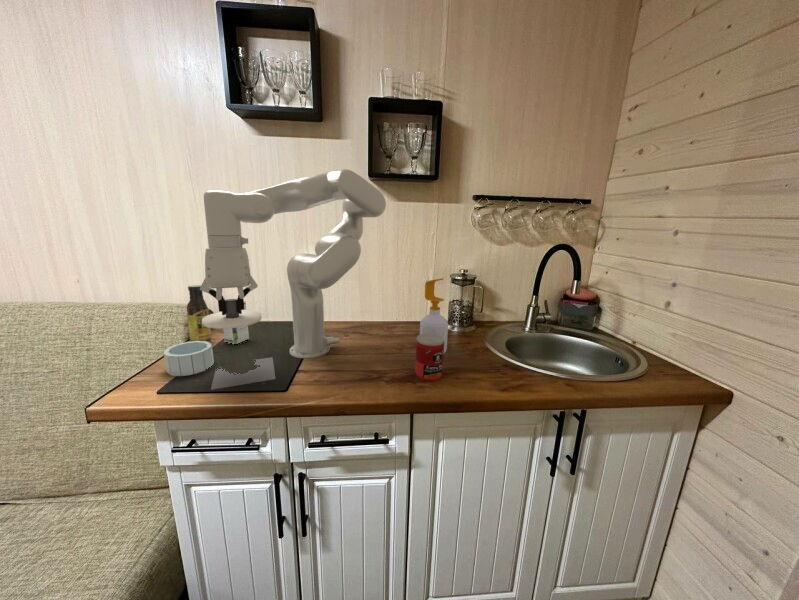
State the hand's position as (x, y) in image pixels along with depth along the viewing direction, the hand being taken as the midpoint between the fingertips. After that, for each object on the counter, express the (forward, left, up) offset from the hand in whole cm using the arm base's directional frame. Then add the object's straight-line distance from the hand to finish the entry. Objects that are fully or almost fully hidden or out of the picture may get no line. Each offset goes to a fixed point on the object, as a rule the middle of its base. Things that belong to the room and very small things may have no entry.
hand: (232, 312), depth 84 cm
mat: (-2, +1, -17) cm, 17 cm away
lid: (0, 0, -2) cm, 2 cm away
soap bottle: (-59, +6, -18) cm, 61 cm away
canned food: (-49, +21, -18) cm, 56 cm away
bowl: (+12, -8, -17) cm, 23 cm away
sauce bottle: (+12, -29, -18) cm, 36 cm away
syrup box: (+1, -26, -18) cm, 32 cm away
